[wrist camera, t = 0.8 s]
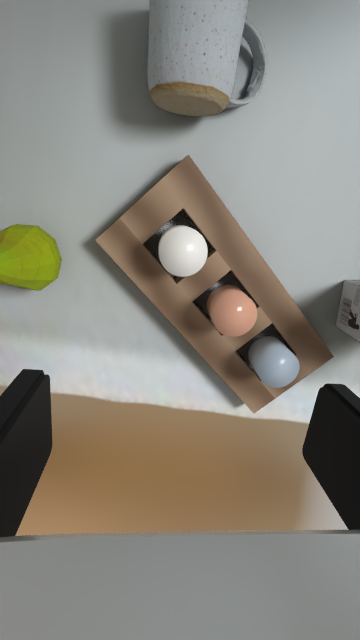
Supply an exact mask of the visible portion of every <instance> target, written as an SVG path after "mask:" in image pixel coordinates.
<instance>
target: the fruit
mask: <svg viewBox="0 0 360 640" xmlns="http://www.w3.org/2000/svg"><path fill="white" fill-rule="evenodd" d="M61 260H62V259H61V256H60V253H59V250H58V247H57V244H56V241H55V239H54V238H52V237H51V236H50V235H49V234H47V233H46V232H45V231H44V230H42V229H41V228H40V227H39V226H30V225H18V224H16V225H12V226H10V227H8V228H6V229H4V230H2V231H0V284H4V285H13V286H17V287H21V288H27V289H32V290H37V291H38V290H42V289H43V288H45V287H46V286H47V285H49V284H50V283H51V282H53V281H54V280H55V279H57V278H58V274H59V270H60V265H61Z"/></svg>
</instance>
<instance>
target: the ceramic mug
mask: <svg viewBox="0 0 360 640" xmlns="http://www.w3.org/2000/svg"><path fill="white" fill-rule="evenodd" d="M248 1H249V0H150V12H149V49H148V72H147V77H148V87H149V94H150V98H151V99H152V101H153V102H154V103H155V105H156V106H158V107H159V108H161V109H163V110H166V111H169V112H172V113H176V114H181V115H188V116H210V115H215V114H218V113H220V112H221V111H223V110H224V109H225V108H226V107H239V106H242V105H245V104H248V103H249V102H251V101H252V100H253V99H254V98H255V97H256V96H257V95H258V93H259V92H260V90H261V87H262V85H263V82H264V78H265V74H266V68H267V56H266V49H265V46H264V43H263V40H262V38H261V36H260V34H259V33H258V31H257V30H256V28H255V27H254V26H253V25H252V24H251V23H250V22H249V21H248V20H247V19H246V13H247V7H248ZM242 37H244V39H245V40H246V41H247V43H248V44H249V47H250V49H251V52H252V55H253V64H254V66H253V71H252V75H251V80H250V83H249V86H248V87H247V94H246V96H245V97H244V98H243V99H241V100H235V99H232V98H231V94H232V91H233V87H234V83H235V76H236V69H237V62H238V56H239V51H240V45H241V40H242Z"/></svg>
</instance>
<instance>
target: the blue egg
mask: <svg viewBox="0 0 360 640" xmlns="http://www.w3.org/2000/svg"><path fill="white" fill-rule="evenodd" d="M248 359H249V362H250V363H251V365H252V367H253V368H254V370H255V371H256V373H257V375H258V376H259V378H260V379H261V381H262V382H263V383H264V384H265V385H267V386H269V387H272V388H280V387H284V386H286V385H288V384H290V383H291V382H292V381H293V380H294V379H295V378H296V376H297V375H298V372H299V367H300V366H299V361H298V359H297V357H296V356H295V355H294V354H293V353H292V352H291V351H290V350H289V349H288V348H287V347H286V346H285V345H284V344H283V343H282V342H281V341H280V340H279V339H278V338H276V337H273V336H264V337H261V338H259V339H257V340H256V341H255V342H253V344H252V345H251V346H250V348H249V351H248Z"/></svg>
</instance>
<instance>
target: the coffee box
mask: <svg viewBox="0 0 360 640" xmlns="http://www.w3.org/2000/svg"><path fill="white" fill-rule="evenodd" d="M336 327H337V328H338V329H340V330H342V331H343V332H345V333H346V334H348V335H349V336H351V337H352V338H354V339H355V340H357V341H358V342H360V280H345V281H344V283H343V289H342V294H341V300H340V305H339V311H338V316H337V322H336Z"/></svg>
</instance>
